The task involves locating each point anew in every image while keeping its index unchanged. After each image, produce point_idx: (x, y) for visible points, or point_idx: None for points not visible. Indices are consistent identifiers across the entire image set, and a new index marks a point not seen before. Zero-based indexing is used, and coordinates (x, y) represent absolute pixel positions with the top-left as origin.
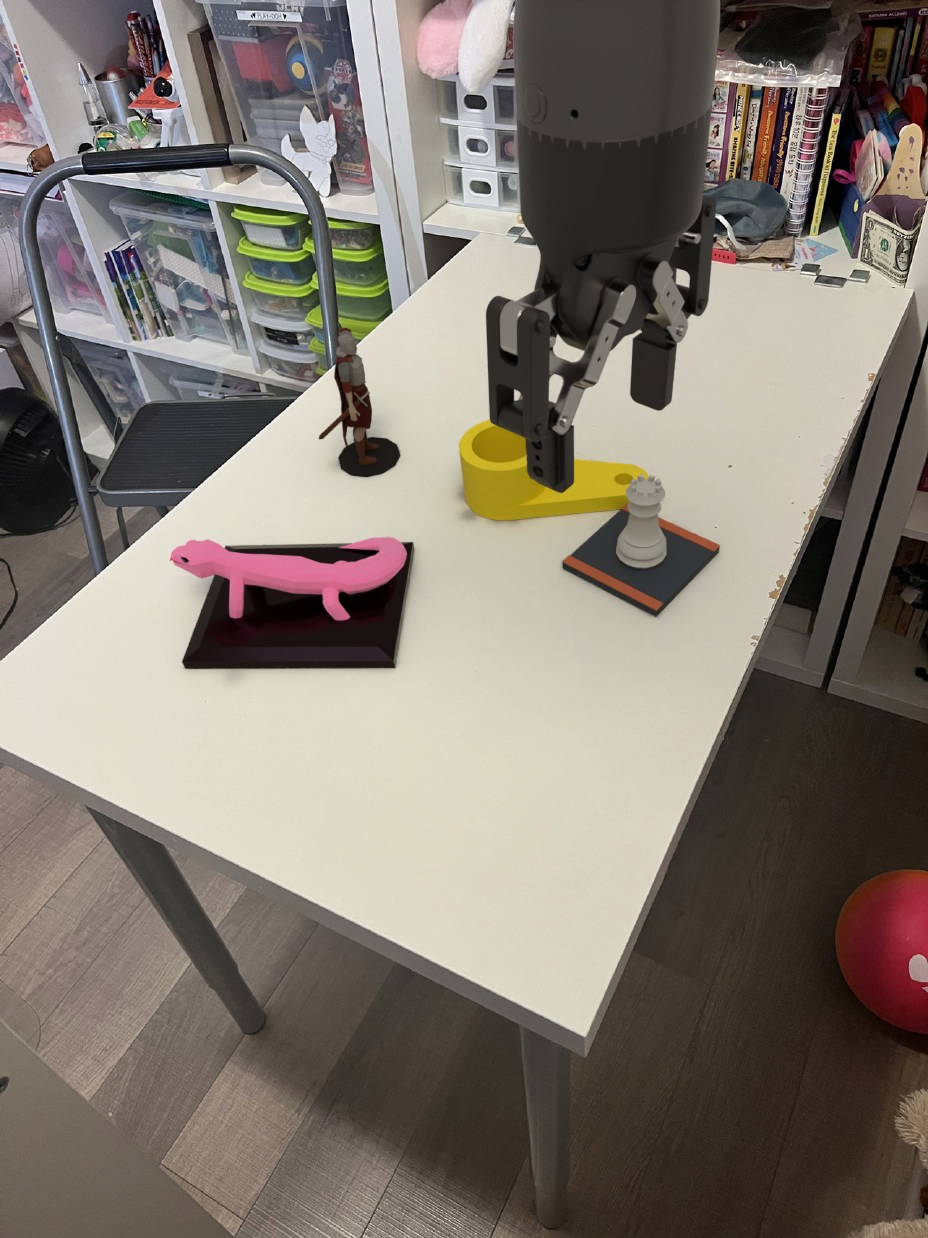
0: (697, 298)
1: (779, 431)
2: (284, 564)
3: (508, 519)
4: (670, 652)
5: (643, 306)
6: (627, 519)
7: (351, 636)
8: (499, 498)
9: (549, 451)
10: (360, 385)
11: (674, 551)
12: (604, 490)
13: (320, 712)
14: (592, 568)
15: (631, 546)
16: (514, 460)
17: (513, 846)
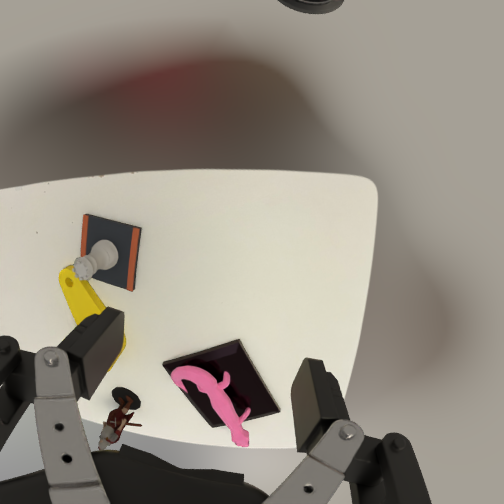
0: (4, 361)
1: (12, 218)
2: (224, 411)
3: None
4: (161, 210)
5: (117, 478)
6: None
7: (235, 365)
8: None
9: (346, 410)
10: (110, 426)
11: (97, 236)
12: (80, 289)
13: (279, 355)
14: (128, 274)
15: (109, 260)
16: None
17: (314, 239)
